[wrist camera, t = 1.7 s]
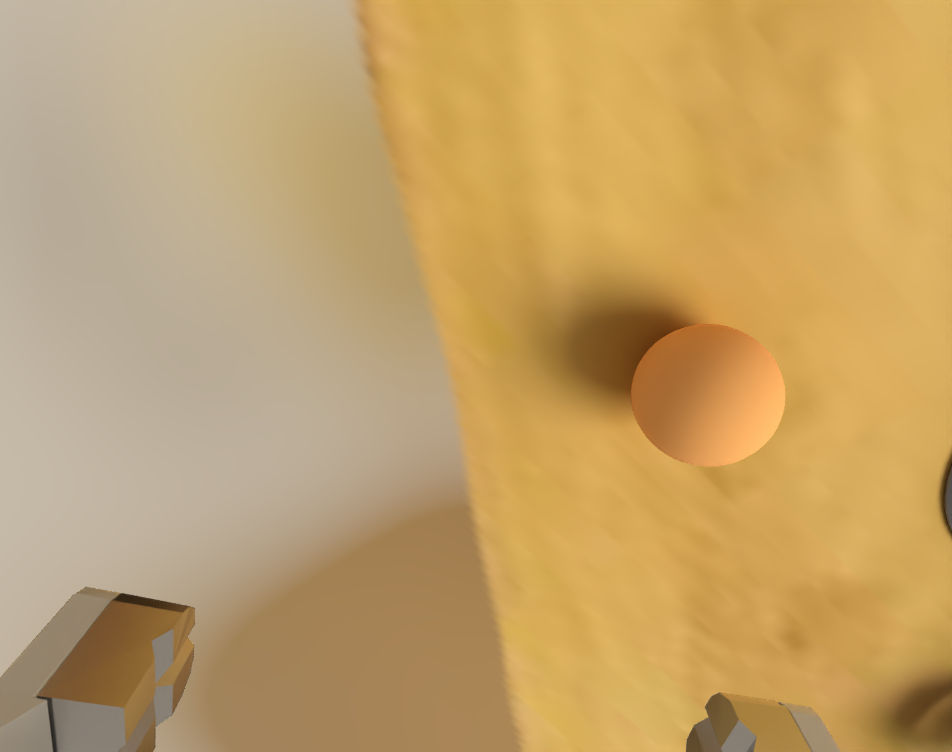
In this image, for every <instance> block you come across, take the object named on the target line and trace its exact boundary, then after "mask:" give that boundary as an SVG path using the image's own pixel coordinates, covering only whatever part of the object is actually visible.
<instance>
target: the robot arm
mask: <svg viewBox="0 0 952 752" xmlns="http://www.w3.org/2000/svg"><path fill="white" fill-rule="evenodd" d="M194 625H195V608H194V607H191V606H186V605H181V604H176V603H170V602H166V601H160V600H155V599H150V598H145V597H139V596H135V595H129V594H124V593H117V592H112V591H106V590H101V589H95V588H90V587H85V588H84V589H82V590H80V591H79V592H77V593H76V594H74V595H73V596H72V597H71V598H70V599H69V600H68V601H67V602H66V604H65V605H64V606H63V607H62V608H61V609H60V611H59V612H58V613H57V614H56V615H55V616H54V617H53V618H52V620H51V621H50V622H49V623H48V624H47V625H46V626H45V627H44V629H43V630H42V631H41V632H40V633H39V634H38V635H37V636H36V638H35V639H34V640H33V641H32V642H31V643H30V644H29V646H28V647H27V648H26V649H25V650H24V651H23V652H22V653H21V655H20V656H19V657H18V658H17V659H16V660H15V661H14V663H13V664H12V665H11V666H10V667H9V668H8V669H7V670H6V672H5V673H4V674H3V675H2V676H1V677H0V752H153V751H154V749H155V738H156V736H155V735H156V729H155V727H156V726H158V725H159V724H160V723H162V722H163V721H165V720H166V719H168V718H169V717H170V716H172V715H173V713H174V711H175V709H176V707H177V705H178V703H179V701H180V699H181V697H182V694H183V692H184V689H185V686H186V684H187V681H188V678H189V676H190V673H191V668H192V663H193V658H194V645H193V644H192V642H191V641H190V640H189V638H188V635H189V634H190V632H191V630H192V628H193V627H194ZM705 709H706V711H707V714H708V718H706V719H704V720H703V721H701V722H699V723H697V724H695V725H694V726H693V728H692V730H691V732H690V734H689V736H688V738H687V744H686V752H840V750H839V748H838V747H837V745H836V743H835V741H834V740H833V738H832V736H831V735H830V733H829V731H828V730H827V728H826V726H825V725H824V723H823V721H822V719H821V718H820V717H819V715H818V714H817V713H816V712H815V711H814V710H812V709H811V708H810V707H806V706H800V705H794V704H787V703H781V702H775V701H773V700H766V699H760V698H753V697H746V696H740V695H733V694H726V693H720V692H719V693H717V694H715V695H713V696H711V698H710V699H709V701H708V703H707V704H706V706H705Z"/></svg>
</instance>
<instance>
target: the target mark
mask: <svg viewBox="0 0 952 752" xmlns="http://www.w3.org/2000/svg"><path fill="white" fill-rule="evenodd" d="M944 499H945V513H946V517H947V522H948V525H949V527H950V529H951V531H952V465H951V468H950V471H949V474H948V478H947V481H946V488H945V495H944Z"/></svg>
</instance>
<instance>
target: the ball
mask: <svg viewBox="0 0 952 752" xmlns="http://www.w3.org/2000/svg"><path fill="white" fill-rule="evenodd" d="M631 399H632V407H633V411H634V415H635V418H636V420H637V422H638V424H639V427H640V428H641V430H642V431H643V433H644V434H645V436H646V437H647V438H648V439H649V440H650V441H651V443H652V444H653V445H655V446H656V447H657V448H658V449H659V450H661V451H662V452H663V453H665V454H667V455H669V456H670V457H672V458H674V459H676V460H679V461H681V462H685V463H688V464H692V465H697V466H721V465H727V464H731V463H734V462H737V461H740V460H742V459H744V458H746V457H748V456H750V455H751V454H753V453H754V452H756V451H757V450H759V449H760V448H761V447H762V446H763V445H764V444H765V443H766V442H767V441H768V440H769V439H770V438H771V436H772V435H773V434H774V432H775V431H776V429H777V427H778V425H779V423H780V420H781V418H782V414H783V411H784V405H785V387H784V382H783V378H782V375H781V372H780V369H779V367H778V365H777V364H776V362H775V360H774V358H773V357H772V356H771V354H770V353H769V352H768V351H767V350H766V349H765V348H764V347H763V346H762V345H761V344H760V343H759V342H758V341H756V340H755V339H753V338H752V337H750V336H749V335H747V334H745V333H743V332H741V331H739V330H736V329H733V328H730V327H727V326H722V325H713V324H700V325H692V326H688V327H684V328H681V329H678V330H676V331H674V332H671V333H669V334H668V335H666V336H664V337H663V338H661V339H660V340H658V341H657V342H656V343H655V344H654V345H653V346H652V347H651V348H650V349H649V350H648V351H647V352H646V354H645V355H644V356H643V358H642V359H641V361H640V362H639V364H638V366H637V369H636V371H635V374H634V377H633V382H632V388H631Z"/></svg>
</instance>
